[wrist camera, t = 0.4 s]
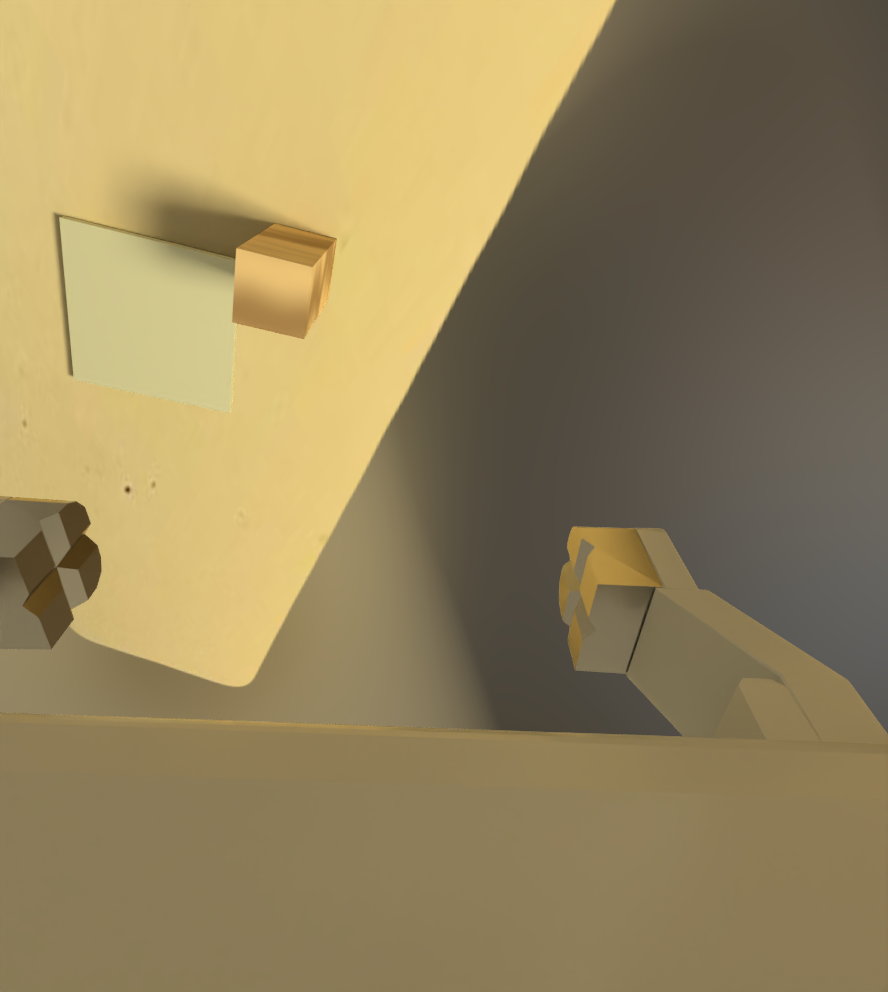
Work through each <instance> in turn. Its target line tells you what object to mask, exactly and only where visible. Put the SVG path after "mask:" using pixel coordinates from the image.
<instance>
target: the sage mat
mask: <svg viewBox="0 0 888 992" xmlns="http://www.w3.org/2000/svg"><path fill="white" fill-rule="evenodd" d="M59 221H60V232H61V243H62V254H63V265H64V276H65V287H66V299H67V310H68V321H69V332H70V343H71V354H72V365H73V376H74V380H77V381H81V382H86V383H91V384H95V385H100V386H105V387H109V388H114V389H119V390H123V391H128V392H133V393H137V394H142V395H147V396H151V397H156V398H161V399H165V400H170V401H175V402H179V403H184V404H189V405H193V406H198V407H203V408H207V409H212V410H217V411H221V412H226V413H230V412H231V411H232V403H233V386H234V370H235V354H236V337H237V323H233V322H232V313H233V296H234V278H235V260H236V258H232V257H228V256H224V255H220V254H216V253H212V252H208V251H204V250H200V249H196V248H192V247H188V246H184V245H180V244H176V243H172V242H168V241H164V240H160V239H156V238H152V237H147V236H143V235H139V234H135V233H131V232H127V231H123V230H119V229H115V228H111V227H107V226H103V225H99V224H95V223H91V222H87V221H83V220H79V219H75V218H71V217H67V216H62V217H59Z"/></svg>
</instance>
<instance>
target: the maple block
mask: <svg viewBox="0 0 888 992" xmlns="http://www.w3.org/2000/svg"><path fill="white" fill-rule="evenodd" d="M336 240H337V239H335V238H331V237H327V236H323V235H319V234H315V233H311V232H307V231H304V230H300V229H296V228H292V227H288V226H284V225H280V224H276V223H275V224H273V225H272V226H270V227H269V228H267V229H265V230H264V231H262V232H261V233H259V234H258V235H256V236H254V237H253V238H251V239H250V240H248V241H247V242H245V243H243V244H242V245H240V246H239V247H237V248H236V260H235V278H234V296H233V313H232V322H233V323H237V324H241V325H246V326H250V327H254V328H259V329H263V330H267V331H271V332H276V333H280V334H284V335H288V336H293V337H297V338H301V339H304V338H305V336H306V334H307V333H308V331H309V330H310V328H311V326H312V325H313V323H314V322H315V320H316V318H317V317H318V315H319V313H320V312H321V310H322V309H323V307H324V305H325V304H326V302H327V300H328V297H329V290H330V283H331V276H332V269H333V262H334V254H335V247H336Z"/></svg>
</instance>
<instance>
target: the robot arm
mask: <svg viewBox="0 0 888 992" xmlns="http://www.w3.org/2000/svg"><path fill="white" fill-rule="evenodd" d="M90 524H91V523H90V520H89V517H88V514H87V511H86V509H85V507H84V506H83V505H81V504H80V503H78V502H77V501H63V500H49V499H35V498H20V497H15V498H13V497H4V496H0V649H52V648H53V646H54V645H55V644H56V642H57V641H58V640H59V638H60V637H61V636H62V634H63V633H64V632H65V630H66V629H67V628H68V626H69V625H70V624H71V622H72V621H73V620H74V618H73V614H72V610H71V609H73V608H74V607H76V606H78V605H80V604H82V603H83V602H85V601H87V600H88V599H89V598H90V597H91V595H92V594H93V592H94V591H95V589H96V588H97V585H98V582H99V578H100V575H101V556H100V552H99V549H98V545H97V544H95V543H94V542H93V541H92V540H91V539H90V538H89V537H88V536H86V535H85V533H86V531H87V529H88V528H89V526H90ZM567 548H568V552H569V555H570V559H571V560H570V561H569V562H568V563H567V564H565V565H564V566H563V567H562V572H561V578H560V586H559V588H560V589H559V603H560V611H561V615H562V619H563V621H564V622H565V623H566V624H568V625H569V626H570V631H569V636H568V644H569V648H570V651H571V655H572V659H573V663H574V667H575V670H579V671H594V672H609V673H624V674H627V677H628V678H629V679H630V680H631V681H632V682H633V683H634V684H635V686H636V687H637V688H638V689H639V690H640V691H641V692H642V693H643V694H644V695H645V696H646V697H647V698H648V699H649V700H650V701H651V702H652V704H653V705H654V706H655V707H656V708H657V709H658V710H659V711H660V712H661V713H662V714H663V715H664V716H665V717H666V718H667V720H668V721H670V723H671V724H672V725H673V726H674V727H675V728H676V729H677V730H678V731H679V732H680V733H681V734H682V735H683V736H684V737H677V736H650V735H649V736H648V735H619V734H617V735H616V734H588V733H557V732H556V733H555V732H529V731H501V730H475V729H448V728H421V727H394V726H368V725H341V724H313V723H284V722H252V721H225V720H197V719H167V718H137V717H110V716H81V715H51V714H24V713H0V992H888V734H887V733H886V731H885V730H884V729H883V727H882V726H881V724H880V723H879V722H878V720H877V719H876V718H875V716H874V715H873V714H872V712H871V711H870V710H869V708H868V707H867V705H866V704H865V703H864V701H863V700H862V699H861V697H860V696H859V695H858V693H857V692H856V690H855V689H854V688H853V686H852V685H851V683H850V682H849V681H848V680H847V679H845V678H843V677H842V676H841V675H839V674H837V673H836V672H834V671H833V670H831V669H830V668H828V667H827V666H825V665H823V664H822V663H820V662H819V661H817V660H816V659H814V658H813V657H811V656H809V655H808V654H806V653H805V652H803V651H801V650H800V649H799V648H797V647H795V646H794V645H792V644H791V643H789V642H788V641H786V640H785V639H783V638H781V637H780V636H778V635H777V634H775V633H774V632H772V631H771V630H769V629H767V628H766V627H764V626H763V625H761V624H760V623H758V622H756V621H755V620H753V619H752V618H750V617H749V616H747V615H746V614H744V613H742V612H741V611H739V610H738V609H736V608H734V607H733V606H731V605H730V604H728V603H727V602H725V601H724V600H722V599H721V598H719V597H717V596H716V595H714V594H713V593H711V592H710V591H708V590H699V589H698V588H697V586H696V585H695V583H694V581H693V579H692V577H691V575H690V574H689V572H688V570H687V568H686V567H685V565H684V564H683V561H682V560H681V558H680V556H679V554H678V553H677V551H676V549H675V547H674V545H673V544H672V542H671V540H670V538H669V537H668V535H667V533H666V532H665V531H664V530H662V529H660V528H601V527H600V528H599V527H573V528H572V530H571V532H570V535H569V540H568V544H567Z"/></svg>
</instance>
